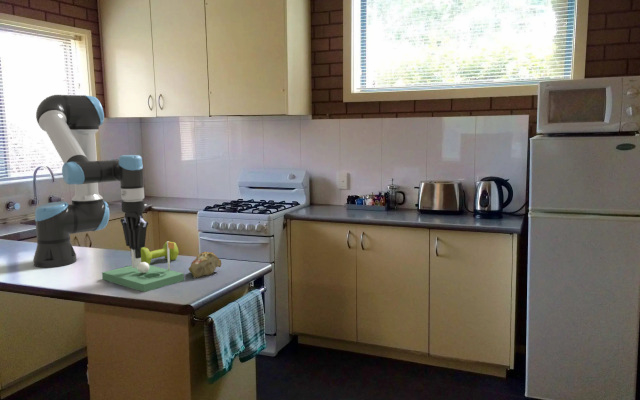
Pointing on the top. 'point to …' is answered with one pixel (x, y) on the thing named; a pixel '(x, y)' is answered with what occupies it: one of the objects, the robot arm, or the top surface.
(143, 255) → the dumbbell
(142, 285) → the mat
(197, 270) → the rock
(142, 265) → the ball
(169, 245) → the flag
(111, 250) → the top surface
